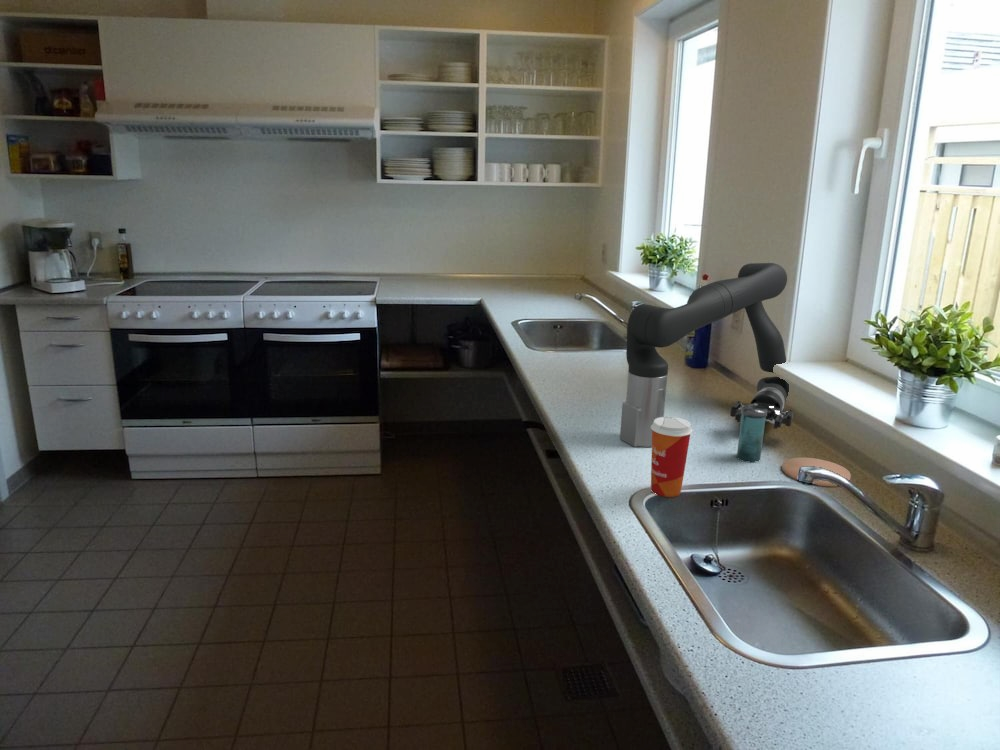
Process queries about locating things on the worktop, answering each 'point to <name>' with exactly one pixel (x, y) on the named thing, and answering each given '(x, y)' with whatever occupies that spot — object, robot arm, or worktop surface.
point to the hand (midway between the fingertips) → (757, 421)
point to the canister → (751, 432)
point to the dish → (794, 464)
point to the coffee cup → (669, 455)
